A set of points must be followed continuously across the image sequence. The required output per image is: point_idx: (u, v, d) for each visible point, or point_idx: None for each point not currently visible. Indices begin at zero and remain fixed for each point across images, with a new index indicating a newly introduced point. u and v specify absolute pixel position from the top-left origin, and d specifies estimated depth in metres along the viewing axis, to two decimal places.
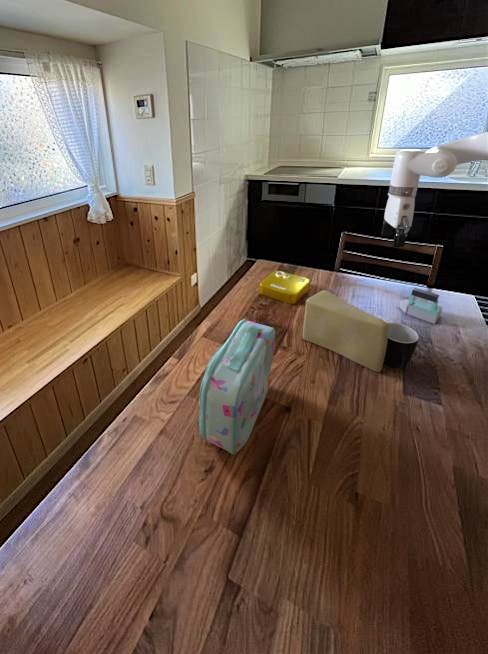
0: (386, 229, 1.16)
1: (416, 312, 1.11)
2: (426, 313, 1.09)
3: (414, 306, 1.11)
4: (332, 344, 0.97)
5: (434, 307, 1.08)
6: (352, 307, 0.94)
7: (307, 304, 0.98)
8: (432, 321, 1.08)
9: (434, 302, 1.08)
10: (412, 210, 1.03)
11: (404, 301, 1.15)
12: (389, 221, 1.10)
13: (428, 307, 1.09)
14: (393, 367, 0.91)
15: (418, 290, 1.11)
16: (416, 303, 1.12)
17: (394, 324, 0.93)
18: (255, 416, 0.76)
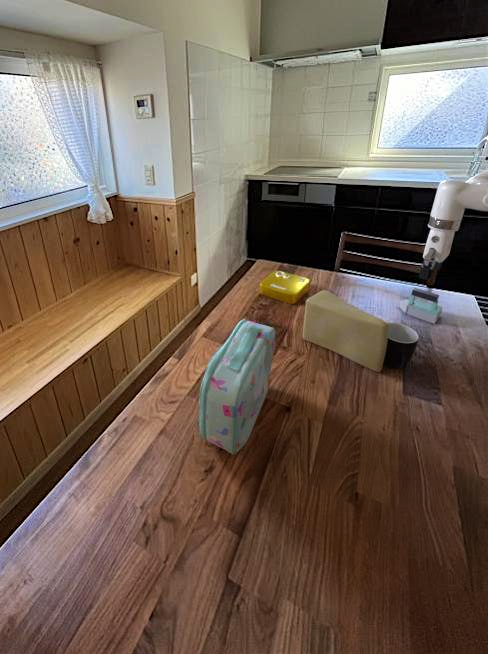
0: None
1: (416, 312, 1.11)
2: (426, 313, 1.09)
3: (414, 306, 1.11)
4: (332, 344, 0.97)
5: (434, 307, 1.08)
6: (352, 307, 0.94)
7: (307, 304, 0.99)
8: (432, 321, 1.08)
9: (434, 302, 1.08)
10: (442, 244, 0.98)
11: (404, 301, 1.15)
12: None
13: (428, 307, 1.09)
14: (393, 367, 0.91)
15: (418, 290, 1.11)
16: (416, 303, 1.12)
17: (394, 324, 0.93)
18: (255, 416, 0.76)
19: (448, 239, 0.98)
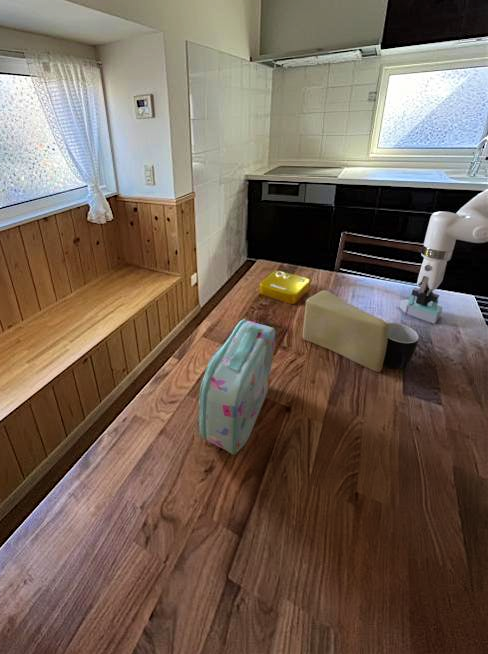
0: None
1: (416, 312, 1.11)
2: (426, 313, 1.09)
3: (414, 306, 1.11)
4: (332, 344, 0.97)
5: (434, 307, 1.08)
6: (352, 307, 0.94)
7: (307, 304, 0.98)
8: (432, 321, 1.08)
9: (434, 302, 1.08)
10: (435, 273, 1.02)
11: (404, 301, 1.15)
12: None
13: (428, 307, 1.09)
14: (393, 367, 0.91)
15: (418, 290, 1.11)
16: (416, 303, 1.12)
17: (394, 324, 0.93)
18: (255, 416, 0.76)
19: (440, 268, 1.02)
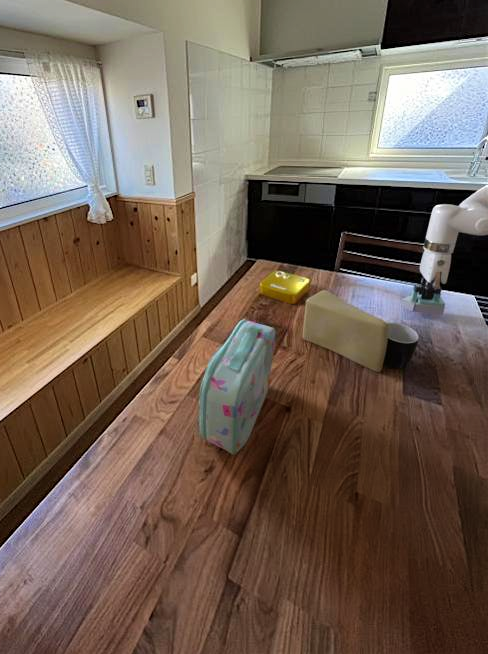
0: None
1: (424, 308, 1.09)
2: (434, 307, 1.08)
3: (421, 302, 1.09)
4: (332, 344, 0.97)
5: (438, 299, 1.08)
6: (352, 307, 0.94)
7: (307, 304, 0.98)
8: (440, 313, 1.08)
9: (438, 294, 1.08)
10: (448, 267, 1.00)
11: (406, 299, 1.12)
12: (423, 274, 1.07)
13: (432, 300, 1.09)
14: (393, 367, 0.91)
15: (421, 286, 1.09)
16: (420, 299, 1.10)
17: (394, 324, 0.93)
18: (255, 416, 0.76)
19: None
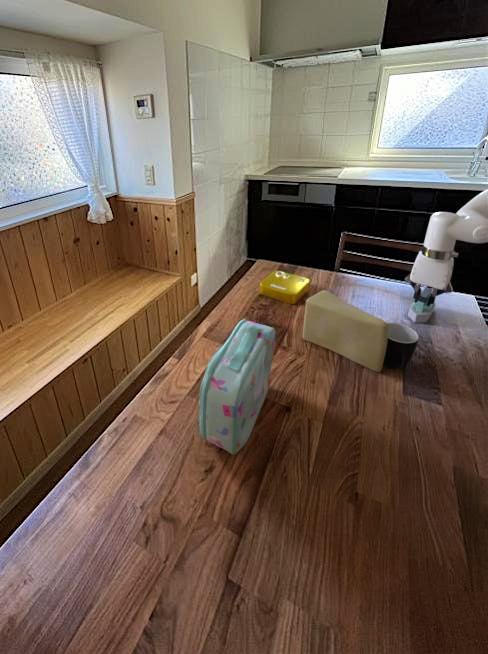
0: (419, 295, 1.11)
1: (430, 313, 1.10)
2: (433, 308, 1.11)
3: (429, 310, 1.09)
4: (332, 344, 0.97)
5: None
6: (352, 307, 0.94)
7: (307, 304, 0.98)
8: (433, 310, 1.14)
9: None
10: (452, 269, 1.04)
11: (419, 313, 1.08)
12: (427, 283, 1.06)
13: (427, 302, 1.12)
14: (393, 367, 0.91)
15: (425, 295, 1.08)
16: (424, 307, 1.10)
17: (394, 324, 0.93)
18: (255, 416, 0.76)
19: None
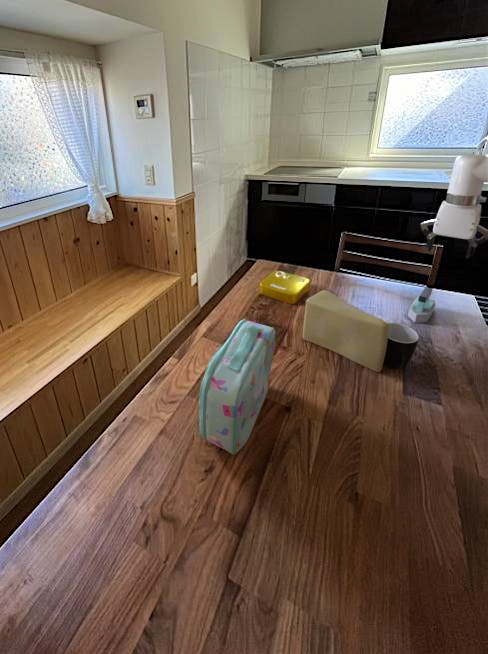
0: (432, 243, 1.05)
1: (430, 313, 1.10)
2: (433, 308, 1.11)
3: (429, 310, 1.09)
4: (332, 344, 0.97)
5: (428, 299, 1.13)
6: (352, 307, 0.94)
7: (307, 304, 0.98)
8: (433, 310, 1.14)
9: None
10: None
11: (419, 313, 1.08)
12: (452, 234, 1.00)
13: (427, 302, 1.12)
14: (393, 367, 0.91)
15: (425, 295, 1.08)
16: (424, 307, 1.10)
17: (394, 324, 0.93)
18: (255, 416, 0.76)
19: None
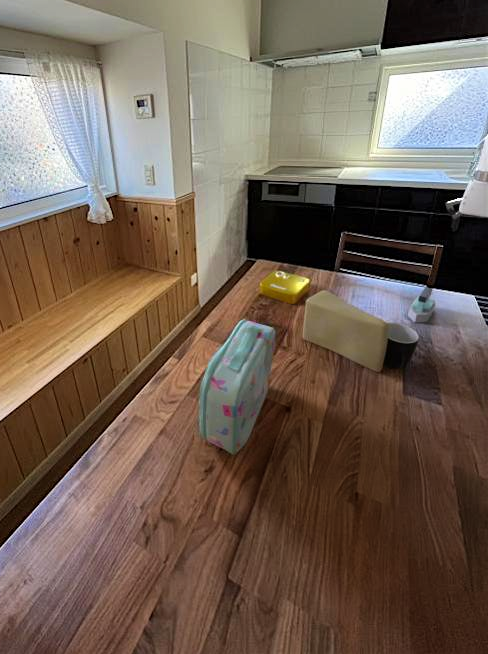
0: (457, 223, 1.03)
1: (430, 313, 1.10)
2: (433, 308, 1.11)
3: (429, 310, 1.09)
4: (332, 344, 0.97)
5: (428, 299, 1.13)
6: (352, 307, 0.94)
7: (307, 304, 0.98)
8: (433, 310, 1.14)
9: None
10: None
11: (419, 313, 1.08)
12: (480, 213, 0.97)
13: (427, 302, 1.12)
14: (393, 367, 0.91)
15: (425, 295, 1.08)
16: (424, 307, 1.10)
17: (394, 324, 0.93)
18: (255, 416, 0.76)
19: None
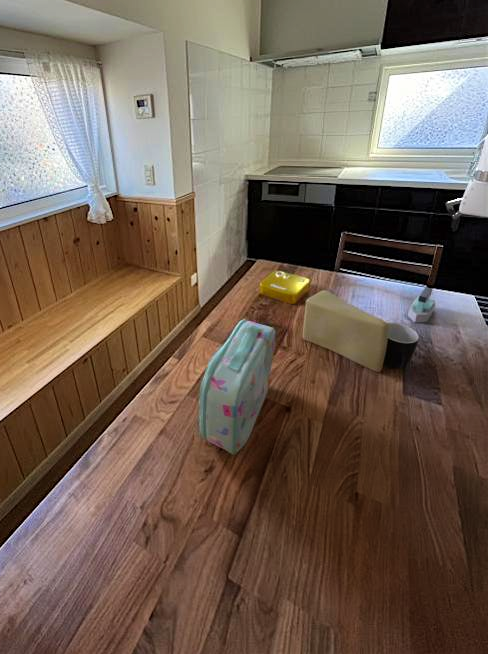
0: (457, 223, 1.03)
1: (430, 313, 1.10)
2: (433, 308, 1.11)
3: (429, 310, 1.09)
4: (332, 344, 0.97)
5: (428, 299, 1.13)
6: (352, 307, 0.94)
7: (307, 304, 0.98)
8: (433, 310, 1.14)
9: None
10: None
11: (419, 313, 1.08)
12: (480, 213, 0.97)
13: (427, 302, 1.12)
14: (393, 367, 0.91)
15: (425, 295, 1.08)
16: (424, 307, 1.10)
17: (394, 324, 0.93)
18: (255, 416, 0.76)
19: None
